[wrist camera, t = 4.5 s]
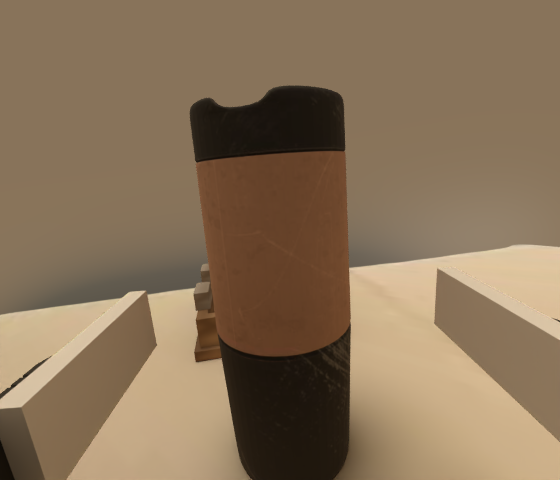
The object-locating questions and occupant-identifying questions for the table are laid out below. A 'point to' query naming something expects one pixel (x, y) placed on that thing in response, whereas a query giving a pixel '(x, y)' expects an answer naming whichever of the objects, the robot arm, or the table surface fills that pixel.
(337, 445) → the travel mug
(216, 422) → the table surface
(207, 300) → the tray
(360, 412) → the table surface
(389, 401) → the table surface
